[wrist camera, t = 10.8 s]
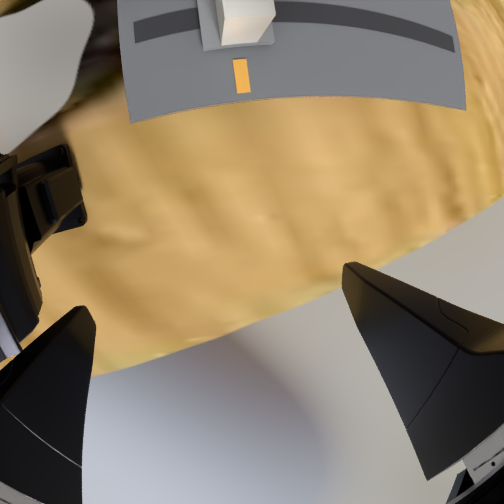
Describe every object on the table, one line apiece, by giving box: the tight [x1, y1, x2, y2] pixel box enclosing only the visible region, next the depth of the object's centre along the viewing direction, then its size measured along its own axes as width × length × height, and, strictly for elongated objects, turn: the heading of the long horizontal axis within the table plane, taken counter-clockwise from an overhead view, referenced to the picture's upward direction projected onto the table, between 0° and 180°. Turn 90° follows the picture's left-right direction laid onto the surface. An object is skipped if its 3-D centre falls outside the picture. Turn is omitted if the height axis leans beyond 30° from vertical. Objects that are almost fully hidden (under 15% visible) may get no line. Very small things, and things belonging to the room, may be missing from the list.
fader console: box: [117, 0, 466, 123], centre depth 13 cm, size 26×12×2 cm, turn 97°
